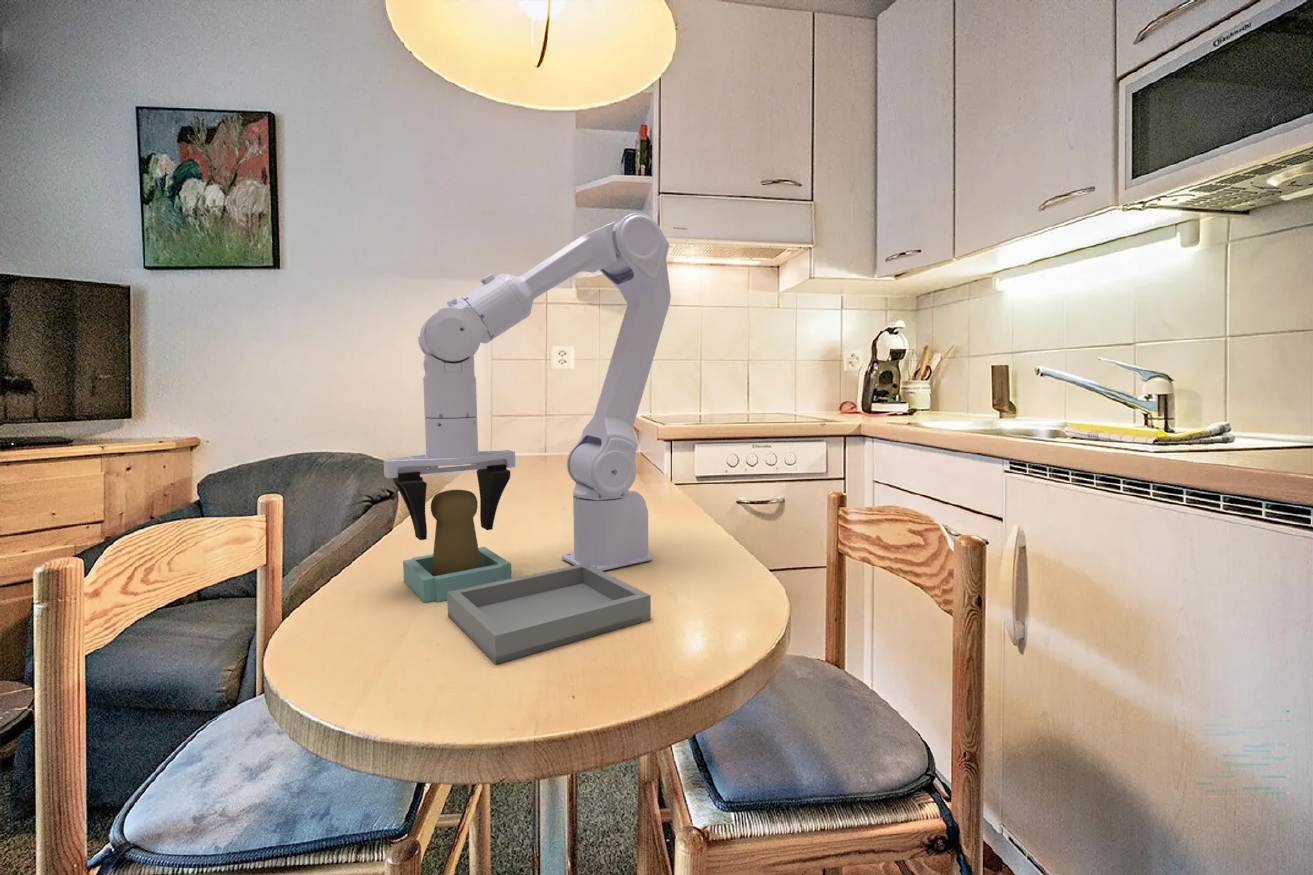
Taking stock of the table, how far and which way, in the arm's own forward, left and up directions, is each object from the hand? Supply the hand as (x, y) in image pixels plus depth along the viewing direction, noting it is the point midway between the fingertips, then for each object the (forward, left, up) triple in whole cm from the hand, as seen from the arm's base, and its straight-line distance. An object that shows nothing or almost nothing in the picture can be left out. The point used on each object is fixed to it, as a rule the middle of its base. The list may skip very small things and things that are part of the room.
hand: (455, 533), depth 70 cm
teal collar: (0, 0, -6) cm, 6 cm away
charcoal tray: (-4, +16, -6) cm, 18 cm away
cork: (0, 0, -6) cm, 6 cm away
